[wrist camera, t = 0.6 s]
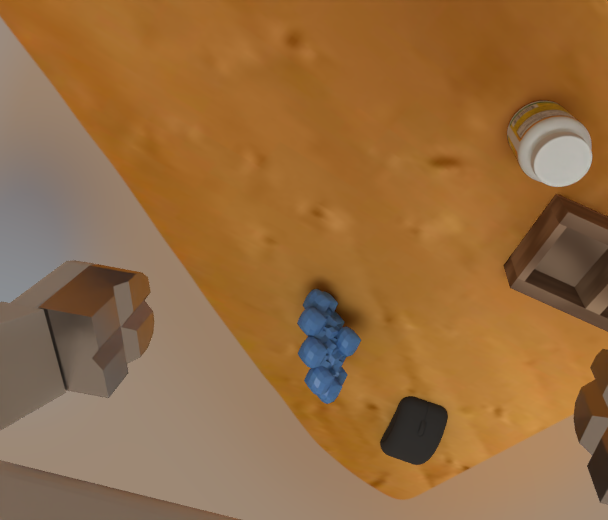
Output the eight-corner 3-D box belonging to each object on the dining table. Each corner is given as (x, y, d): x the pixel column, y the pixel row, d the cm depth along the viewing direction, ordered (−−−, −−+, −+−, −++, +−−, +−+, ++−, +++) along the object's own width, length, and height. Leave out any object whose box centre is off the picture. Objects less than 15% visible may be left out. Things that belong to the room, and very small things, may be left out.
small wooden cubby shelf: (556, 193, 46) (568, 212, 43) (706, 261, 46) (732, 285, 43) (503, 265, 51) (510, 287, 47) (640, 326, 51) (658, 354, 47)
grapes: (377, 348, 60) (368, 421, 50) (326, 353, 62) (307, 424, 52) (355, 268, 55) (339, 331, 45) (300, 276, 57) (273, 338, 47)
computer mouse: (451, 407, 63) (452, 430, 59) (420, 459, 68) (419, 484, 65) (404, 391, 63) (403, 414, 60) (377, 444, 69) (375, 468, 65)
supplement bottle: (513, 97, 43) (534, 122, 35) (577, 101, 42) (614, 128, 34) (500, 155, 46) (516, 191, 38) (560, 160, 45) (590, 198, 37)
